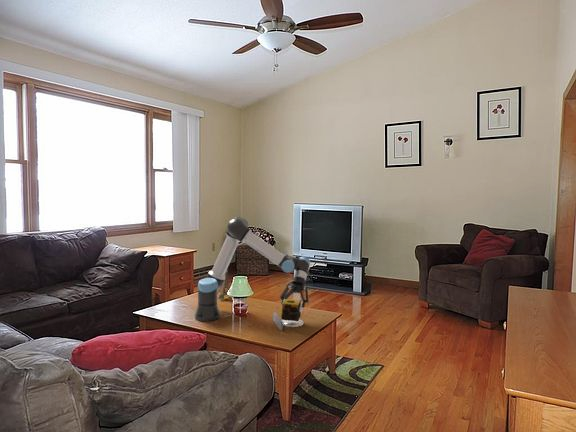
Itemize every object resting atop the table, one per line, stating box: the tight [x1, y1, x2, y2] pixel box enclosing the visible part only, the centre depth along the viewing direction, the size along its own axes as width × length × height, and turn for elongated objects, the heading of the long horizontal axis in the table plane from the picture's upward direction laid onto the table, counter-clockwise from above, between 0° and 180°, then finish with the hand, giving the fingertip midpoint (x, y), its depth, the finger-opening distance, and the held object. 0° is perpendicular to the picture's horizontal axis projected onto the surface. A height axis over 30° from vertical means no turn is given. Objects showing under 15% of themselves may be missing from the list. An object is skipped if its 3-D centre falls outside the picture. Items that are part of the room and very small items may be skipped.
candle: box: [280, 298, 302, 321], centre depth 236 cm, size 10×10×10 cm
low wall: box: [272, 311, 284, 331], centre depth 236 cm, size 1×18×5 cm, turn 16°
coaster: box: [281, 318, 305, 328], centre depth 240 cm, size 14×14×1 cm
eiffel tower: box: [217, 269, 233, 303], centre depth 286 cm, size 11×11×25 cm
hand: (291, 310), depth 237 cm, fingers closed on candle, 10 cm apart
